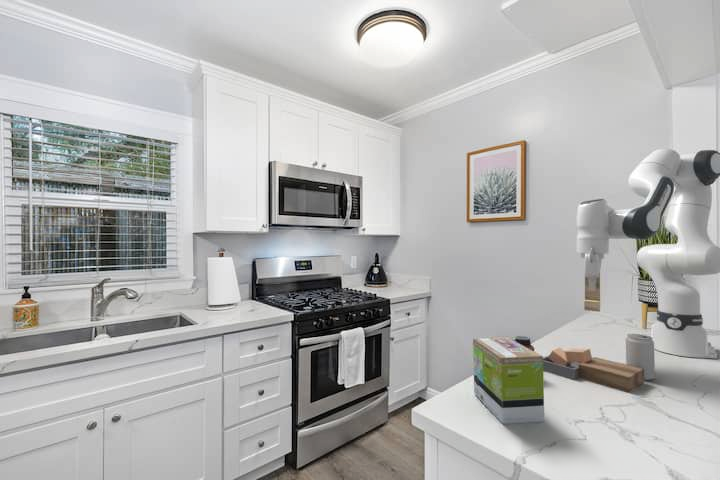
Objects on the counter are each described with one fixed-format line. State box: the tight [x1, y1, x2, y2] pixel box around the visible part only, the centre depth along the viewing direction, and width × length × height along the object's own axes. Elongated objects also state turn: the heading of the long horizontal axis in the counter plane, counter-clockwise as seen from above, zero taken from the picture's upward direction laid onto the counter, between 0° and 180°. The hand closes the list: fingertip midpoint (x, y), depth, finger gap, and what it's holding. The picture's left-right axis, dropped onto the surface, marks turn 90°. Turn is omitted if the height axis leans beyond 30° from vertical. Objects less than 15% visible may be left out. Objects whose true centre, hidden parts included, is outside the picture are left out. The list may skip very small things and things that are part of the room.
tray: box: [543, 354, 594, 381], centre depth 104 cm, size 16×10×3 cm, turn 125°
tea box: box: [472, 336, 545, 425], centre depth 80 cm, size 15×10×15 cm, turn 5°
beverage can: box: [625, 333, 656, 382], centre depth 98 cm, size 6×6×12 cm
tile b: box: [564, 348, 592, 363], centre depth 102 cm, size 5×5×3 cm
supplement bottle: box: [514, 335, 535, 352], centre depth 99 cm, size 6×6×11 cm
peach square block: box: [548, 347, 573, 367], centre depth 106 cm, size 5×5×3 cm
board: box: [578, 356, 645, 394], centre depth 95 cm, size 11×12×4 cm
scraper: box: [583, 271, 601, 313], centre depth 110 cm, size 10×4×12 cm, turn 144°
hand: (592, 290), depth 110 cm, fingers closed on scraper, 4 cm apart
